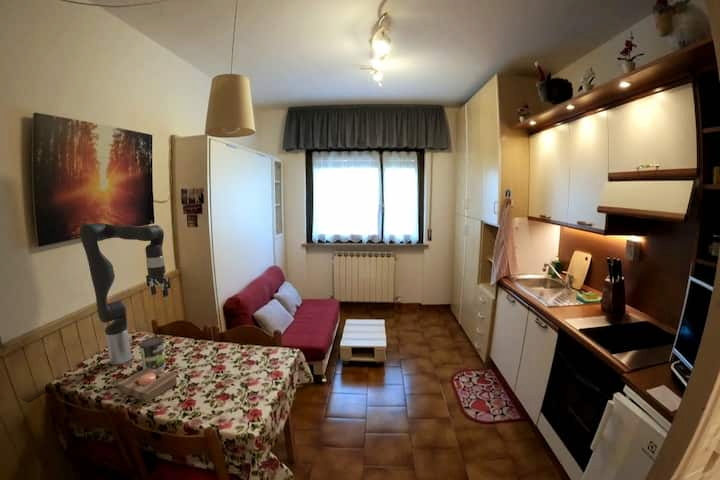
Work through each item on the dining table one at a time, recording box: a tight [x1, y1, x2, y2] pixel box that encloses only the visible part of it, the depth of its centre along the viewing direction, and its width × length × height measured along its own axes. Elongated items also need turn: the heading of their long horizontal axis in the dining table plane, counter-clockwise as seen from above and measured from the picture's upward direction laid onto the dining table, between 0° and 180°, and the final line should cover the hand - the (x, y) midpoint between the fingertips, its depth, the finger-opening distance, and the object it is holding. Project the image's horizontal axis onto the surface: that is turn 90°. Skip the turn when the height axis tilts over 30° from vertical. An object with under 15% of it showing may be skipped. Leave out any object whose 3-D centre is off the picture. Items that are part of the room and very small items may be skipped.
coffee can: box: [138, 336, 167, 370], centre depth 162 cm, size 10×10×14 cm
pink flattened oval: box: [138, 374, 156, 387], centre depth 146 cm, size 7×7×4 cm
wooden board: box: [117, 367, 177, 403], centre depth 146 cm, size 20×14×4 cm
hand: (159, 295), depth 160 cm, fingers open, 8 cm apart
